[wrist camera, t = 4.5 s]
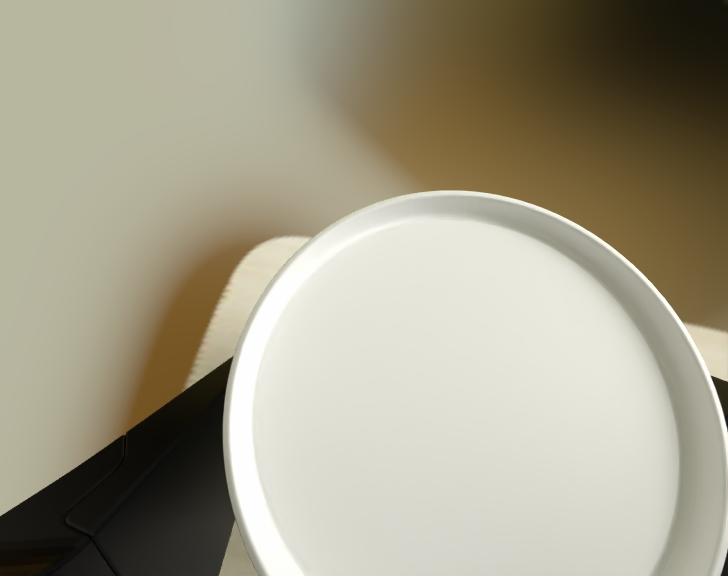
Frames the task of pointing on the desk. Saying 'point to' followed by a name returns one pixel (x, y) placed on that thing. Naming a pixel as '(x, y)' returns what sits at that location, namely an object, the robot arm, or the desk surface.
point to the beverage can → (471, 405)
